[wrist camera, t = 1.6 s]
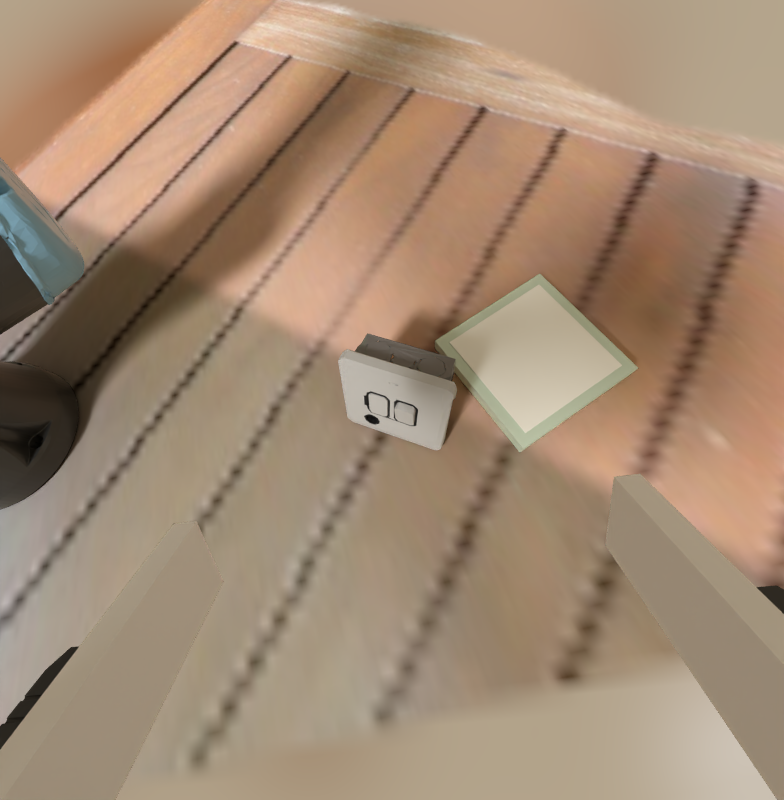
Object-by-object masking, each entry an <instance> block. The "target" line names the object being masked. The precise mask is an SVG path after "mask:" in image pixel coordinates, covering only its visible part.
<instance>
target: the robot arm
mask: <svg viewBox="0 0 784 800" xmlns="http://www.w3.org/2000/svg"><path fill="white" fill-rule="evenodd" d="M83 272H84V260H83V257H82V255H81V253H80V251H79V250H78V248H77V247H76V245H75V244H74V243H73V241H72V240H71V238H70V237H69V236H68V235H67V233H66V232H65V231H64V230H63V228H62V227H61V226H60V225H59V223H58V222H57V221H56V220H55V219H54V217H53V216H52V215H51V214H50V213H49V211H48V210H47V209H46V208H45V207H44V206H43V204H42V203H41V202H40V201H39V200H38V199H37V198H36V196H35V195H34V194H33V193H32V192H31V191H30V190H29V188H28V187H27V186H26V185H25V184H24V183H23V182H22V181H21V180H20V178H19V177H18V176H17V175H16V174H15V173H14V172H13V171H12V170H11V169H10V168H9V166H8V165H7V164H6V163H5V162H4V161H3V160H2V159H1V158H0V334H2V333H3V332H5V331H7V330H8V329H10V328H11V327H13V326H14V325H16V324H17V323H19V322H21V321H22V320H24V319H25V318H27V317H28V316H30V315H32V314H33V313H35V312H36V311H38V310H39V309H41V308H42V307H44V306H46V305H47V304H48V305H50V304H52V302H54V298H55V297H56V296H58V295H59V294H60V293H62V292H63V291H64V290H66V289H67V288H68V287H70V286H71V285H72V284H74V283H75V282H76V281H78V280H79V279H80V277H81V276H82V274H83ZM77 424H78V404H77V399H76V396H75V394H74V392H73V390H72V388H71V387H70V385H69V384H68V383H67V382H66V381H65V380H64V379H62V378H61V377H59V376H58V375H56V374H54V373H51V372H49V371H47V370H44V369H42V368H40V367H37V366H34V365H31V364H27V363H21V362H1V361H0V509H3V508H6V507H9V506H11V505H13V504H15V503H17V502H19V501H21V500H23V499H24V498H26V497H28V496H29V495H30V494H32V493H33V492H35V491H36V490H37V489H38V488H40V487H41V486H42V485H43V484H44V483H45V482H46V481H47V480H48V479H49V478H50V477H51V476H52V475H53V473H54V472H55V471H56V470H57V468H58V467H59V466H60V464H61V463H62V461H63V460H64V458H65V457H66V455H67V453H68V451H69V449H70V447H71V445H72V442H73V440H74V437H75V433H76V430H77ZM605 545H606V547H607V548H608V550H609V551H610V553H611V554H612V556H613V557H614V559H615V560H616V562H617V563H618V565H619V566H620V568H621V569H622V571H623V572H624V574H625V575H626V577H627V578H628V579H629V581H630V582H631V584H632V585H633V587H634V588H635V590H636V591H637V593H638V594H639V596H640V597H641V599H642V600H643V602H644V603H645V605H646V606H647V608H648V609H649V611H650V612H651V614H652V615H653V617H654V618H655V619H656V621H657V622H658V624H659V625H660V627H661V628H662V630H663V631H664V633H665V634H666V636H667V637H668V639H669V640H670V642H671V643H672V645H673V646H674V648H675V649H676V651H677V652H678V654H679V655H680V656H681V658H682V659H683V661H684V662H685V664H686V665H687V667H688V668H689V670H690V671H691V673H692V674H693V676H694V677H695V679H696V680H697V682H698V683H699V685H700V686H701V688H702V689H703V691H704V692H705V693H706V695H707V696H708V698H709V699H710V701H711V702H712V704H713V705H714V707H715V708H716V710H717V711H718V713H719V714H720V716H721V717H722V719H723V720H724V721H725V723H726V725H727V726H728V727H729V729H730V730H731V732H732V733H733V735H734V736H735V738H736V739H737V741H738V742H739V744H740V745H741V747H742V748H743V750H744V751H745V753H746V754H747V756H748V757H749V759H750V760H751V761H752V763H753V764H754V766H755V767H756V769H757V770H758V772H759V773H760V775H761V776H762V778H763V779H764V781H765V782H766V784H767V785H768V786H769V788H770V790H771V791H772V793H773V794H774V796H775V797H776V798H777V800H784V590H783V589H782V588H780V587H778V586H766V587H755V586H754V585H753V584H752V583H751V582H750V581H749V580H748V579H747V578H746V577H745V576H744V575H743V574H742V573H741V572H740V571H739V570H738V569H737V568H736V567H735V566H734V565H733V564H732V563H731V562H730V561H729V560H728V559H727V558H726V557H725V556H724V555H723V554H722V553H721V552H720V551H719V550H718V549H717V548H716V547H714V546H713V545H712V544H711V543H710V542H709V541H708V540H707V539H706V538H705V537H704V536H703V535H702V534H701V533H700V532H699V531H698V530H697V529H696V528H695V527H694V526H693V525H692V524H691V523H690V522H689V521H688V520H687V519H686V518H685V517H684V516H683V515H682V514H681V513H680V512H679V511H678V510H677V509H676V508H675V507H674V506H673V505H672V504H671V503H669V502H668V501H667V500H666V499H665V498H664V497H663V496H662V495H661V494H660V493H659V492H658V491H657V490H656V489H655V488H654V487H653V486H652V485H651V484H650V483H649V482H648V481H647V480H646V479H645V478H644V477H643V476H642V475H641V474H635V475H626V476H616V477H614V480H613V488H612V496H611V504H610V512H609V520H608V528H607V536H606V544H605ZM223 582H224V581H223V579H222V577H221V575H220V572H219V570H218V568H217V566H216V564H215V561H214V559H213V557H212V555H211V553H210V550H209V548H208V546H207V544H206V542H205V539H204V537H203V535H202V533H201V531H200V528H199V526H198V524H197V522H196V521H193V522H184V523H174V524H173V525H172V526H171V528H170V529H169V530H168V532H167V533H166V534H165V536H164V537H163V538H162V539H161V541H160V542H159V543H158V545H157V546H156V547H155V549H154V550H153V551H152V552H151V554H150V555H149V556H148V558H147V559H146V560H145V562H144V563H143V564H142V565H141V567H140V568H139V569H138V571H137V572H136V573H135V575H134V576H133V577H132V579H131V580H130V581H129V582H128V584H127V585H126V586H125V588H124V589H123V590H122V592H121V593H120V594H119V595H118V597H117V598H116V599H115V601H114V602H113V603H112V605H111V606H110V607H109V609H108V610H107V611H106V612H105V614H104V615H103V616H102V618H101V619H100V620H99V622H98V623H97V624H96V625H95V627H94V628H93V629H92V631H91V632H90V633H89V635H88V636H87V637H86V638H85V640H84V641H83V642H82V644H81V645H80V646H79V647H71V648H70V649H68V650H67V651H66V652H65V653H64V654H63V655H62V656H61V657H60V658H58V659H57V660H56V661H55V662H54V663H53V664H52V665H51V666H49V667H48V668H47V669H46V670H45V671H44V673H43V674H42V675H41V676H40V678H39V679H38V680H37V681H36V683H35V684H34V685H33V686H32V687H31V689H30V690H29V691H28V692H27V694H26V695H25V699H24V700H23V701H20V702H19V704H18V705H17V706H16V707H15V709H14V710H13V711H12V712H11V714H10V715H9V716H8V717H7V721H6V723H5V724H2V725H1V726H0V800H116V798H117V796H118V794H119V792H120V790H121V788H122V786H123V784H124V782H125V780H126V778H127V776H128V774H129V772H130V770H131V768H132V766H133V764H134V762H135V759H136V757H137V755H138V753H139V751H140V749H141V747H142V745H143V743H144V741H145V739H146V737H147V735H148V733H149V731H150V729H151V727H152V725H153V723H154V721H155V719H156V717H157V715H158V713H159V711H160V709H161V707H162V705H163V703H164V701H165V699H166V697H167V695H168V693H169V691H170V689H171V687H172V685H173V683H174V681H175V679H176V677H177V675H178V673H179V671H180V669H181V667H182V665H183V663H184V661H185V659H186V656H187V654H188V652H189V650H190V648H191V646H192V644H193V642H194V640H195V638H196V636H197V634H198V632H199V630H200V628H201V626H202V624H203V622H204V620H205V618H206V616H207V614H208V612H209V610H210V608H211V606H212V604H213V602H214V600H215V598H216V596H217V594H218V592H219V590H220V588H221V586H222V584H223Z"/></svg>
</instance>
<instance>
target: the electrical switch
mask: <svg viewBox="0 0 784 800" xmlns="http://www.w3.org/2000/svg"><path fill="white" fill-rule="evenodd" d="M377 341H378V342H377ZM392 354H393V355H394V358H392V359H391V357H392ZM435 357H436V358H435ZM390 359H391V360H390ZM420 360H421V361H420ZM455 360H456V359H454V358H451V357H447V356H444V355H440V354H437V353H433V352H430V351H426V350H423V349H419V348H416V347H413V346H409V345H406V344H402V343H399V342H395V341H392V340H388V339H385V338H381V337H378V336H375V335H371V334H368V333H367V335H366V336H365V338H364V340H363V342H362V343H361V344H360V345H359V346H358V347H357V349H356V351H351V350H348V349H347V350H345V351H344V352H342V355H341V356H340V358H339V360H338V362H339V368H340V374H341V380H342V386H343V392H344V398H345V405H346V411H347V417H348V418H349V419H350V420H351V421H352V422H355V423H358V424H361V425H363V426H366V427H369V428H372V429H375V430H378V431H381V432H384V433H387V434H389V435H392V436H395V437H398V438H401V439H404V440H407V441H410V442H413V443H415V444H418V445H421V446H424V447H427V448H430V449H433V450H440V449H441V447H442V445H443V443H444V441H445V435H446V431H447V426H448V421H449V416H450V412H451V407H452V402H453V399H455V397H456V393H457V388H456V385H455V383H454V382H452V379H453V374H454V369H455V365H454V363H455V364H456V362H455ZM415 361H416V362H415ZM391 362H394V363H391ZM414 362H415V365H414ZM419 362H420V363H419ZM444 364H445V365H444ZM453 366H454V367H453ZM411 368H412V369H411ZM418 369H419V370H420V371H419V370H418ZM439 376H440V377H439Z"/></svg>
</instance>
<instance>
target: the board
mask: <svg viewBox="0 0 784 800" xmlns="http://www.w3.org/2000/svg"><path fill="white" fill-rule="evenodd" d="M435 349H436V350H437V351H438V353H439V354H440V355H444V356H447V357H451V358H454V359H456V360H455V362H456V364H455V363H454V365H455V369H454V372H455V374H456V375H457V376H458V377H459V378H460V380H461V381H462V382H463V383H464V385H465V386H466V387H467V388H468V389H469V391H470V392H471V393H472V394H473V396H474V397H475V398H476V399H477V401H478V402H479V403H480V404H481V405H482V407H483V408H484V409H485V410H486V412H487V413H488V414H489V415H490V417H491V418H492V419H493V420H494V421H495V423H496V424H497V425H498V426H499V428H500V429H501V430H502V431H503V433H504V434H505V435H506V436H507V437H508V439H509V440H510V441H511V442H512V444H513V445H514V446H515V447H516V448H517V450H518V451H519V452H522V451H523V450H524V449H526V448H527V447H529V446H530V445H531V444H533V443H534V442H536V441H537V440H539V439H540V438H541V437H543V436H544V435H546V434H547V433H548V432H550V431H551V430H553V429H554V428H556V427H557V426H558V425H560V424H561V423H563V422H564V421H565V420H567V419H568V418H570V417H571V416H573V415H574V414H575V413H577V412H578V411H580V410H581V409H582V408H584V407H585V406H587V405H588V404H589V403H591V402H592V401H594V400H595V399H597V398H598V397H599V396H601V395H602V394H604V393H605V392H606V391H608V390H609V389H611V388H612V387H614V386H615V385H616V384H618V383H619V382H621V381H622V380H623V379H625V378H626V377H628V376H629V375H630V374H632V373H633V372H634V371H635V370H637V369H638V367H637V366H636V365H635V364H634V363H633V362H632V361H631V360H630V359H629V358H628V357H627V356H625V355H624V354H623V353H622V352H621V351H620V350H619V349H618V348H617V347H616V346H615V345H614V344H613V343H612V342H611V341H610V340H609V339H608V338H607V337H606V336H605V335H604V334H603V333H601V332H600V331H599V330H598V329H597V328H596V327H595V326H594V325H593V324H592V323H591V322H590V321H589V320H588V319H587V318H586V317H585V316H584V315H583V314H582V313H581V312H580V311H579V310H577V309H576V308H575V307H574V306H573V305H572V304H571V303H570V302H569V301H568V300H567V299H566V298H565V297H564V296H563V295H562V294H561V293H560V292H559V291H558V290H557V289H556V288H555V287H553V286H552V285H551V284H550V283H549V282H548V281H547V280H546V279H545V278H544V277H543V276H542V275H541V274H538V275H537V276H535V277H534V278H532V279H530V280H529V281H527V282H526V283H524V284H523V285H521V286H519V287H518V288H516V289H515V290H513V291H512V292H510V293H509V294H507V295H505V296H504V297H502V298H501V299H499V300H498V301H496V302H495V303H493V304H491V305H490V306H488V307H487V308H485V309H484V310H482V311H480V312H479V313H477V314H476V315H474V316H473V317H471V318H470V319H468V320H466V321H465V322H463V323H462V324H460V325H459V326H457V327H456V328H454V329H452V330H451V331H449V332H448V333H446V334H445V335H443V336H442V337H440V338H438V339H437V340H435ZM453 367H454V366H453Z"/></svg>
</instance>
